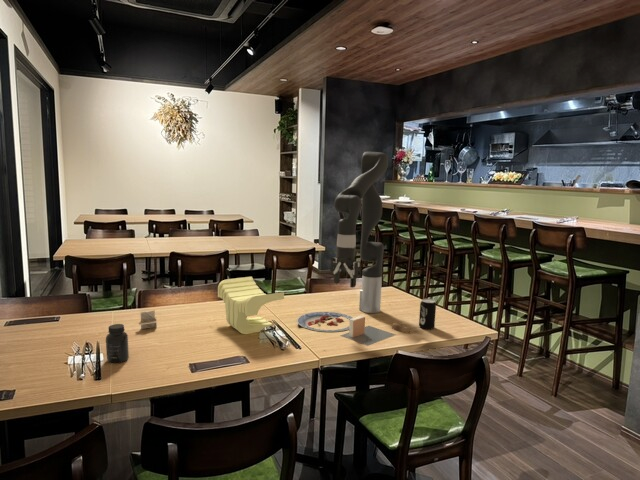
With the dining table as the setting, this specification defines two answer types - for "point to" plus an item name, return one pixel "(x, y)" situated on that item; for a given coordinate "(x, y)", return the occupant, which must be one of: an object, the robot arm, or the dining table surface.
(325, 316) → the ceramic plate
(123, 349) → the supplement bottle
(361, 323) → the tile
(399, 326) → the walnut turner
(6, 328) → the dining table surface
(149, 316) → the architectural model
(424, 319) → the beverage can
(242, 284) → the slatted curved stool
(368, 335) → the slate board
